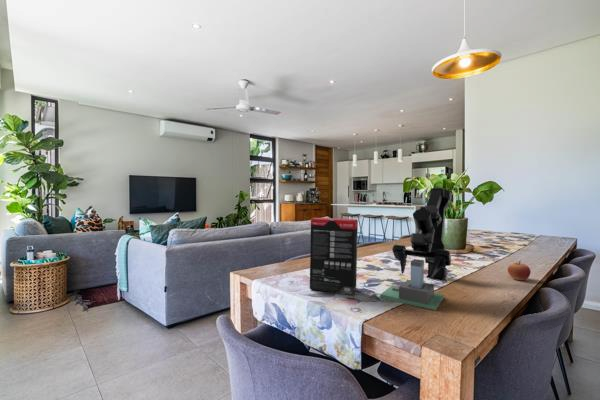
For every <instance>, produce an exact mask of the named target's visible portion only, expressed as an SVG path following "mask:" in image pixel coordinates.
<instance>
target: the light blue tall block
mask: <svg viewBox="0 0 600 400" xmlns="http://www.w3.org/2000/svg"><path fill="white" fill-rule="evenodd" d="M424 267H425V259H415V258H413V259H412V260H411V261H410V280H411V283H410V287H414V288H419V289H422V288H423V284H424V283H425V281H424V280H425V279H424V277H425V275H424V274H425V268H424Z"/></svg>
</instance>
